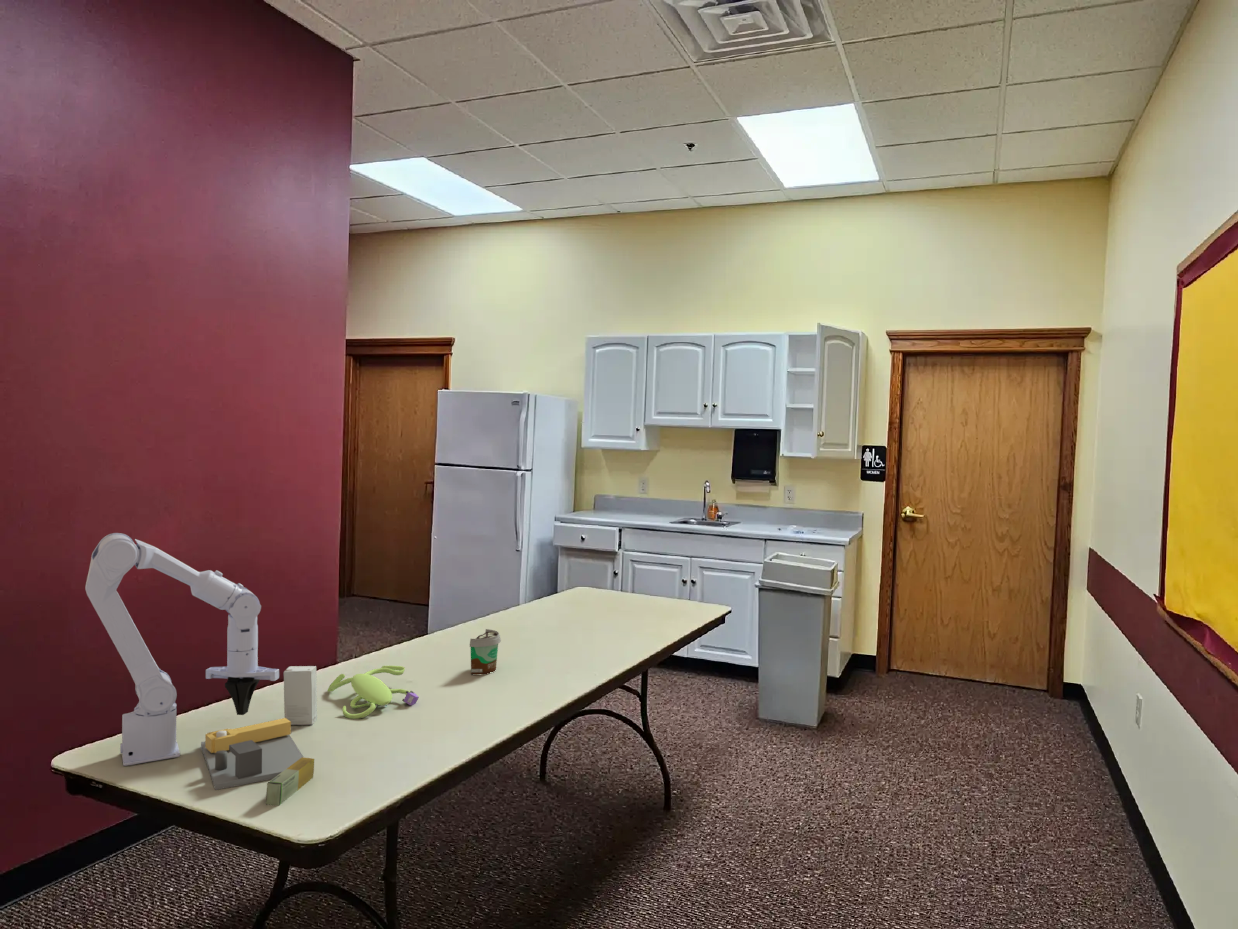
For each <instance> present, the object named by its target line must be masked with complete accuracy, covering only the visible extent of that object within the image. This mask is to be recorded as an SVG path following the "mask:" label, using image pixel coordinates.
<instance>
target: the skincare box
mask: <svg viewBox="0 0 1238 929" xmlns="http://www.w3.org/2000/svg"><path fill="white" fill-rule="evenodd" d="M317 682H318V679H317V666H316V665H315V666H314V665H307V666H306V665H305V666H304V665H303V666H302V665H299V666H297V665H295V666H292V665H291V666H288V667H287V668H286V669H285V670H284V671H283V702H284V704H283V705H284V707H283V708H284V718H286V719H288V720H289V721H291V726H302V725H303V726H305V725H306V726H307V725H309V726H312V725H313V724H314V723H315V722H316V721H317V719H318V702H317V701H318V698H317V697H318V695H317V694H318V689H317V688H318V687H317V685H318V684H317Z"/></svg>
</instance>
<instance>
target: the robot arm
mask: <svg viewBox="0 0 1238 929" xmlns="http://www.w3.org/2000/svg"><path fill="white" fill-rule="evenodd" d="M134 541H135V542H136V544H135V542H134ZM134 566H135V568H136V569H137V570H143V569H144V570H145V569H146V570H147V569H154V570H156V571H158V572H160V573H163V574H165V575H167V576H169V577H171V578H173V579H175V580H178V582H181V583H182V584H183V583H184V584H186V585H187V586H189V587H190V593H191V595H192V596H193V597H195V598H197V599H199V600H201V601H204V603H207V604H208V605H209V604H210V605H211V606H212V607H215V608H216V609H218V610H220V611H221V610H222V611H223V610H225V611H226V612H227V613H228V616H227V620H228V621H227V624H228V625H227V628H226V629H227V631H226V633H227V634H226V635H227V640H226V641H227V642H226V644H227V646H226V647H227V648H226V651H227V652H226V653H227V654H226V655H227V656H226V657H227V659H226V660H227V661H226V662H227V663H226V664H227V665H226V666H210V667H209V668H207V669H205V679H206V680H207V679H208V680H211V679H227V681H226V682H225V683H224V687H225V689H226V690H227V692H228V694H229V696H230V698H231V699H232V702H233V705H234V708H235V713H236V716H244V715H245V714H247V713H248V712H249V709H250V704H251V700H252V696H253V695H254V692H255V690H256V688H257V687H258V684H259V682H260V680H261V681H262V680H264V681H266V680H268V681H271V682H275V681H277V680H278V679H280V669H279V668H271V667H265V666H259V664H258V663H259V662H258V661H259V659H258V658H259V657H258V656H259V655H258V651H259V649H258V648H259V625H258V615H259V614H260V612H261V610H262V605H261V602H260V600H259V598H258V596H256V594H254V593H253V592H252V591H251V590H249V589H248V588H247V587H244V585H243V584H241V583H240V582H238V583H235V582H234V581H231V580H229V579H227V578H225V577H223V575H224V574H223V573H222V572H221V571H219V570H217V569H216V570H215V571H213V570H211V569H210V570H209V569H208V570H203V571H198V570H196V569H194V568H193V567H191V566H190V565H188V564H186V563H184V562H183V561H180V560H179V559H177V558H175V557H174V556H172V555H170V554H168V553H167V552H165V551H163V550H162V549H159V548H158V547H156V546H154V545H152V544H149V543H146V542H145V541H142V540H139V539H136V538H135V539H134V540H133V539H132V537H130V536H129V535H128V534H125V533H120V532H113V533H109V534H107V535H106V536H105V535H104V537H102V539H101V540H99V541H98V543H97V545H96V547H95V548H94V550H93V551H92V553H91V557H90V563H89V569H88V572H87V573H88V574H87V576H86V582H85V592H86V596H87V597H88V600H89V601H90V603H91V605H92V607H93V608H94V610H95V612H96V614H97V616H98V617H99V619H100V621H101V624H102V625H103V626H104V628H105V630H106V633H107V634H108V635H109V637H110V639H111V641H112V643H113V644H114V646H115V648H116V650H117V652H118V654H119V655H120V657H121V659H122V661H123V662H124V664H125V666H126V668H127V670H128V672H129V674H130V676H131V679H132V681H133V682H134V684H135V687H134V688H135V689H134V690H135V694H136V695H137V697H138V700H139V701H138V702H137V704H136V706H135V707H134V708H133V711H131V712H128V713H123V714H122V717H121V718H122V720H121V727H122V728H121V738H122V739H121V743H120V744H119V745H120V748H119V751H120V754H121V756H122V766H124V767H125V766H132V765H137V764H143V763H150V762H155V761H162V760H167V759H173V758H179V757H180V756H181V752H180V749H179V744H178V741H177V706H178V705H177V703H176V700H177V696H178V695H177V694H178V693H177V689H176V687H175V686H174V684H173V683H172V679H171V677H170V675H169V674H168V672H165V671H164V670H162V669H161V668H160V667H159V666H158V664H157V662H156V661H155V659H154V657H153V656H152V654H151V652H150V650H149V647H148V646H147V645H146V643H145V640H144V639H143V637H142V635H141V633H140V631H139V630H138V628H137V626H136V624H135V623H134V620H133V618H132V616H131V615H130V613H129V611H128V609H127V607H126V606H125V603H124V601H123V600H122V597H121V596H120V594H119V592H118V591H117V590H118V587H119V586H120V583H121V582H122V580H123V578H124V576H125V575H126V574H127V573H128V572H129V571H130V570H131V569H132V568H133V567H134Z"/></svg>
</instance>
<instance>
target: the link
mask: <svg viewBox="0 0 1238 929" xmlns="http://www.w3.org/2000/svg"><path fill="white" fill-rule="evenodd" d="M218 731H227V736H223V737H218V738H216V733H217V732H218ZM291 734H292V725H291V721H289V720H288V719H286V718H285V717H283V718H278V719H274V720H269V721H265V722H260V723H255V724H250V725H246V726H242V727H235V728H224V729H219V730H215V731H210V732H207V733H205V740H204V741H205V747H206V748H207V749H208V750H209V751H210V752H211V753H216V752H217V751H221V750H225V751H227V750H229V745H231V744H236V743H240V742H245V741H249V740H252V741H254V742H259V741H263V740H268V739H272V738H276V737H281V736H285V735H290V736H291Z"/></svg>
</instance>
